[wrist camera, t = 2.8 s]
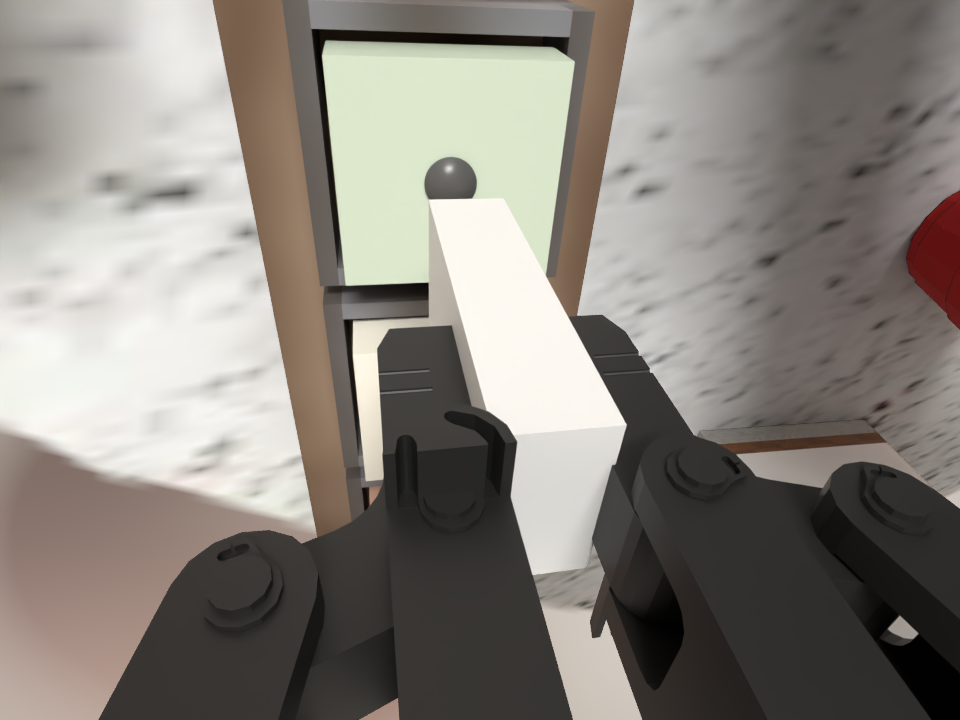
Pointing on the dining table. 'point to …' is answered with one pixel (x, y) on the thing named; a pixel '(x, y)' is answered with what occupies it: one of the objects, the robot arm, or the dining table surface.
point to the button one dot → (440, 143)
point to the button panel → (312, 192)
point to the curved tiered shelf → (812, 457)
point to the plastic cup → (939, 257)
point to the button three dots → (373, 384)
